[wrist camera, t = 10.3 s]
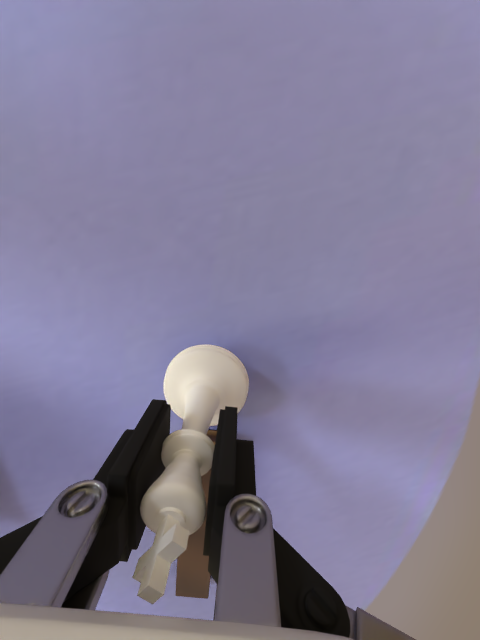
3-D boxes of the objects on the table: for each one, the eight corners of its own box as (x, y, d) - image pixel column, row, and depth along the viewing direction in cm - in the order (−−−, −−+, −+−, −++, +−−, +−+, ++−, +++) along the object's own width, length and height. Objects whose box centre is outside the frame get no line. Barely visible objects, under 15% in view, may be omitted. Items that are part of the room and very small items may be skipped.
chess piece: (266, 380, 16) (303, 589, 6) (212, 434, 17) (171, 688, 7) (200, 327, 15) (122, 469, 5) (148, 387, 16) (2, 600, 6)
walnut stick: (187, 427, 18) (182, 440, 17) (225, 430, 18) (224, 444, 17) (178, 577, 22) (174, 597, 20) (210, 580, 22) (208, 600, 20)
